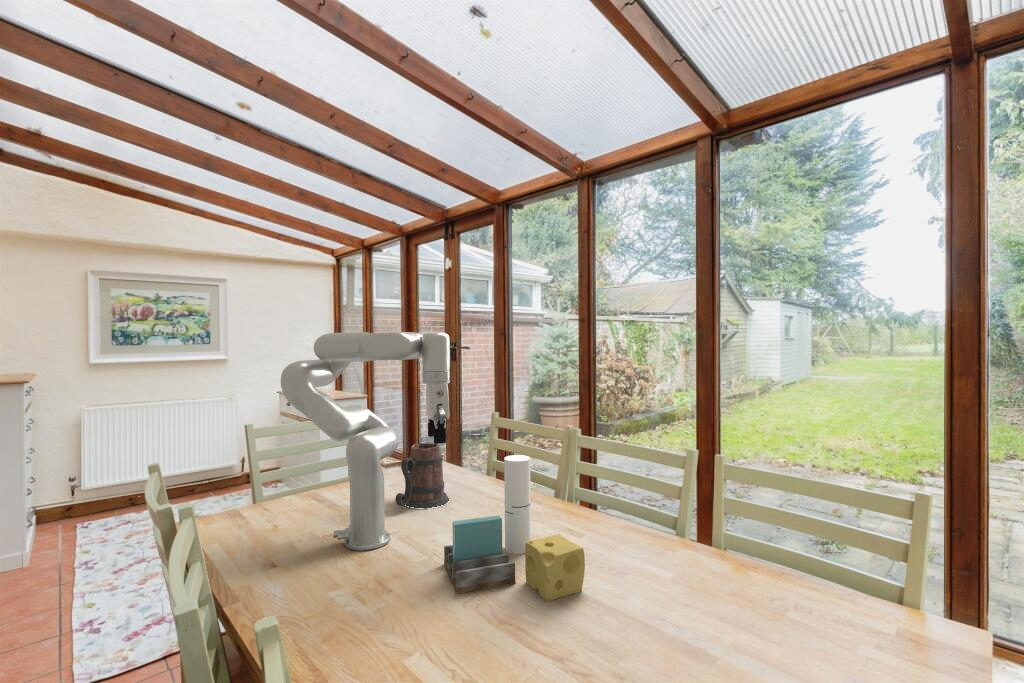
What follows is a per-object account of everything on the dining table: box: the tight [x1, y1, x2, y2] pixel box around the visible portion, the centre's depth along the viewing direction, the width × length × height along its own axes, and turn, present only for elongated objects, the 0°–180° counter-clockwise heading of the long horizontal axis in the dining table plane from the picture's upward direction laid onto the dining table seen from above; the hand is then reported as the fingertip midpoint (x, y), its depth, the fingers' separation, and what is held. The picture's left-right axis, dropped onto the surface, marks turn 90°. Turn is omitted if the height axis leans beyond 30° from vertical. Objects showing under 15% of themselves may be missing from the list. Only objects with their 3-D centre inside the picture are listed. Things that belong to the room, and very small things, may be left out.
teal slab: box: [452, 514, 503, 562], centre depth 120 cm, size 12×2×12 cm, turn 109°
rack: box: [443, 544, 517, 595], centre depth 120 cm, size 14×16×5 cm
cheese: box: [524, 534, 586, 603], centre depth 113 cm, size 10×11×10 cm
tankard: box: [394, 442, 450, 508], centre depth 171 cm, size 24×17×20 cm
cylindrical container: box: [503, 454, 532, 555], centre depth 134 cm, size 7×7×25 cm
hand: (436, 439), depth 133 cm, fingers open, 9 cm apart
